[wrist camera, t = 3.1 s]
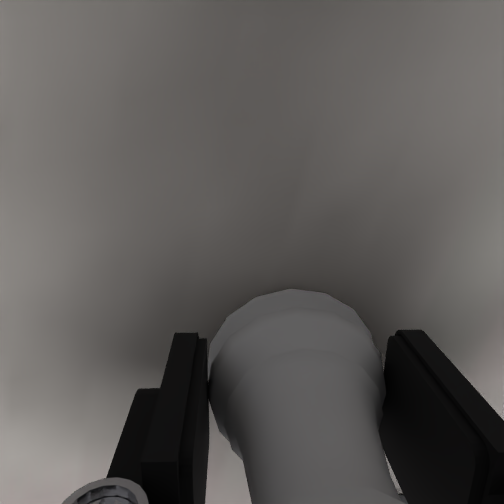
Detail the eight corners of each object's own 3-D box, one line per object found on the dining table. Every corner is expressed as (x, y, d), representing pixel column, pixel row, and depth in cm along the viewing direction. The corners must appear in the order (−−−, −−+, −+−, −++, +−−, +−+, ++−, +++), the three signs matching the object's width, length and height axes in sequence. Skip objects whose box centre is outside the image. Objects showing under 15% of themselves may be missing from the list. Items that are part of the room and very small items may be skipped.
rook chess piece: (366, 419, 12) (592, 926, 5) (213, 429, 12) (179, 971, 4) (374, 276, 11) (716, 659, 3) (200, 286, 11) (120, 709, 3)
